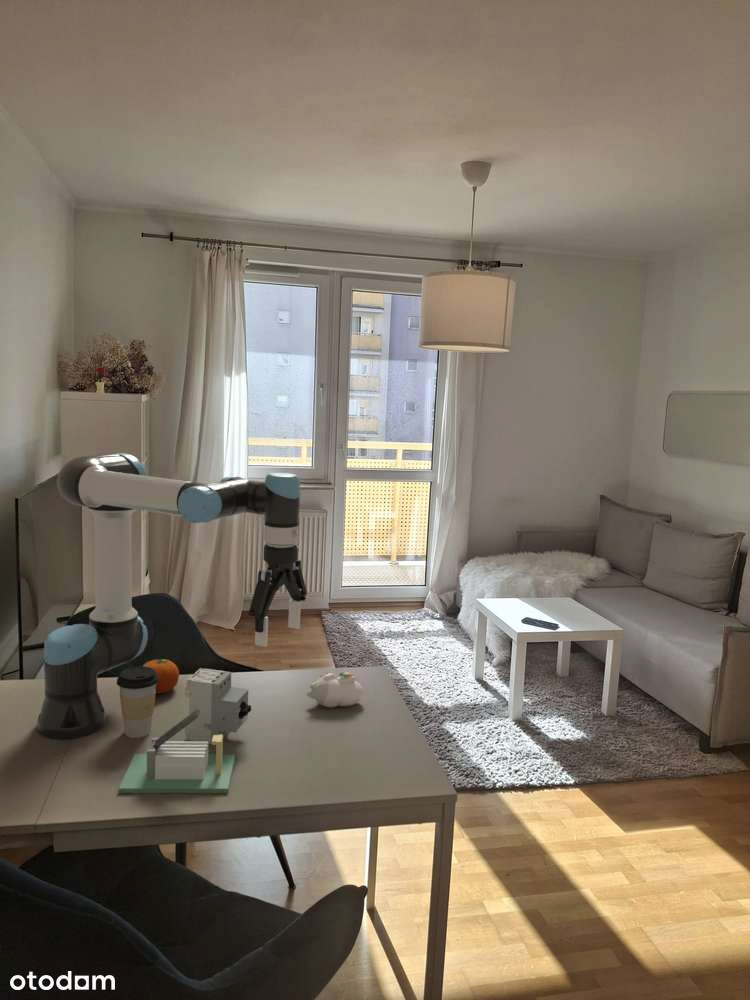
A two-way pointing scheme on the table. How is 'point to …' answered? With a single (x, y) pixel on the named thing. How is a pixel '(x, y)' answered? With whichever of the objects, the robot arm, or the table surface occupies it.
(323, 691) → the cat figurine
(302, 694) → the table surface
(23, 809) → the table surface
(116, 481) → the robot arm
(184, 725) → the grey lever
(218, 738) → the board
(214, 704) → the circuit breaker
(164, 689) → the fruit
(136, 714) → the coffee cup
